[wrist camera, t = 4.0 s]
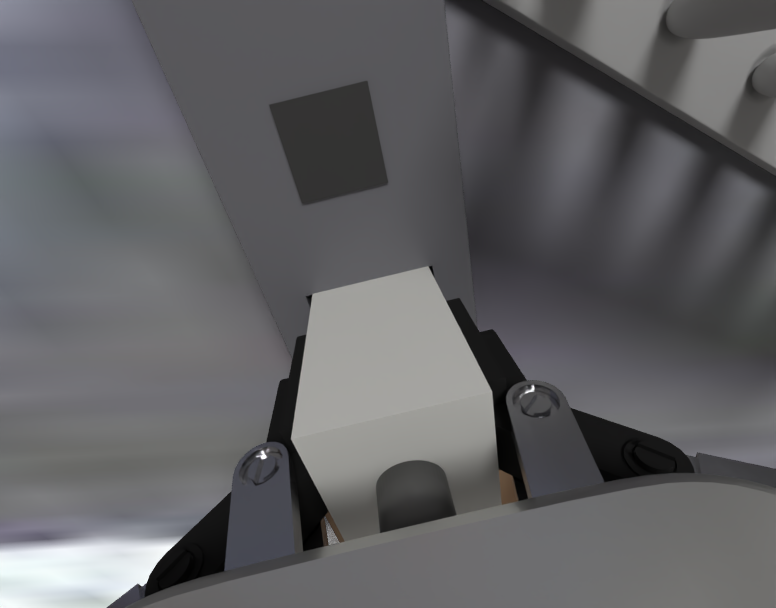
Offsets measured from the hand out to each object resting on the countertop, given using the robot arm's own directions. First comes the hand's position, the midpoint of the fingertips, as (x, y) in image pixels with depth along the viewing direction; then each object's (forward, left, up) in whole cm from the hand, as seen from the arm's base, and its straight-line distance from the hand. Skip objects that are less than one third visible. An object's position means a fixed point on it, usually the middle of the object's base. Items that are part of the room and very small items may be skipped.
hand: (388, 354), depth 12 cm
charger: (0, 0, -4) cm, 4 cm away
